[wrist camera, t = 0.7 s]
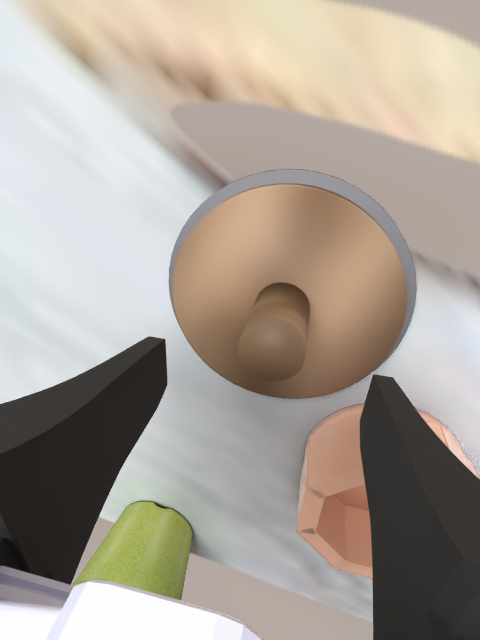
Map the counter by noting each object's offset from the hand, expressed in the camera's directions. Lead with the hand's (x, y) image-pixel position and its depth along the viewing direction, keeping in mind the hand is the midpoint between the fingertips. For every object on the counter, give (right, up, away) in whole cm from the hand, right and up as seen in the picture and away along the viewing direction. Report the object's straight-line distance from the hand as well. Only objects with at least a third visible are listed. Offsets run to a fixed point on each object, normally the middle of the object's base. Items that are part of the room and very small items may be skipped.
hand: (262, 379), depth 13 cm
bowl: (+8, -6, +10) cm, 14 cm away
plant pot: (-8, -15, +18) cm, 25 cm away
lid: (+1, +3, +5) cm, 6 cm away
